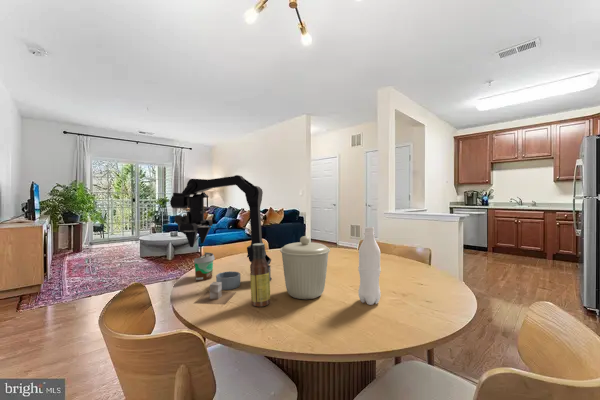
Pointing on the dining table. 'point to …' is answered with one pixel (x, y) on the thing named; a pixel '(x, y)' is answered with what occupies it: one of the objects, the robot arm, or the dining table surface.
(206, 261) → the food container
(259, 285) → the sauce bottle
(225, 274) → the bowl
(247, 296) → the dining table surface
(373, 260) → the water bottle
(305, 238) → the canister
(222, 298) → the lid
